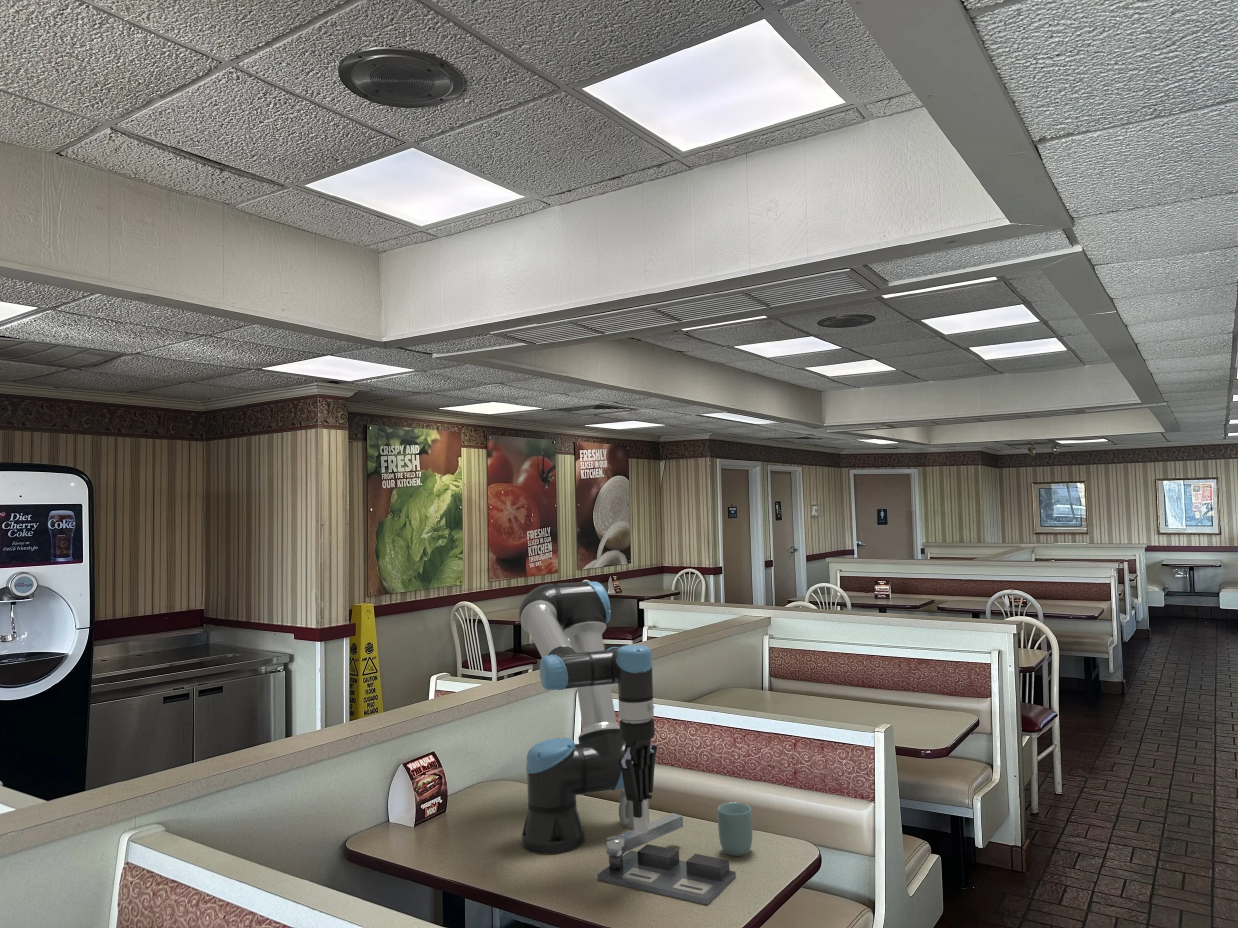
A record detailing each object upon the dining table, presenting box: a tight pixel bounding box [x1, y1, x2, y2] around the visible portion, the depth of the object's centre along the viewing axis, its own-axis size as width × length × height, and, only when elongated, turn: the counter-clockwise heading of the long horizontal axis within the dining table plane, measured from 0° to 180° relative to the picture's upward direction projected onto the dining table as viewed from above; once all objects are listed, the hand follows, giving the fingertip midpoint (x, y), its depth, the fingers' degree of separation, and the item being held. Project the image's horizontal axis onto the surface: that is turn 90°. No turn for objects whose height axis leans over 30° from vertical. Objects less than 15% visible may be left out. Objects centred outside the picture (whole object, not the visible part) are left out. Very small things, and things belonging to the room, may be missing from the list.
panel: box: [597, 843, 737, 906], centre depth 179 cm, size 26×14×4 cm, turn 59°
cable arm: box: [605, 812, 684, 857], centre depth 189 cm, size 22×4×3 cm, turn 134°
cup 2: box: [717, 801, 753, 857], centre depth 191 cm, size 8×8×10 cm
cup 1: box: [618, 788, 650, 830], centre depth 210 cm, size 7×10×9 cm
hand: (641, 830), depth 179 cm, fingers closed
